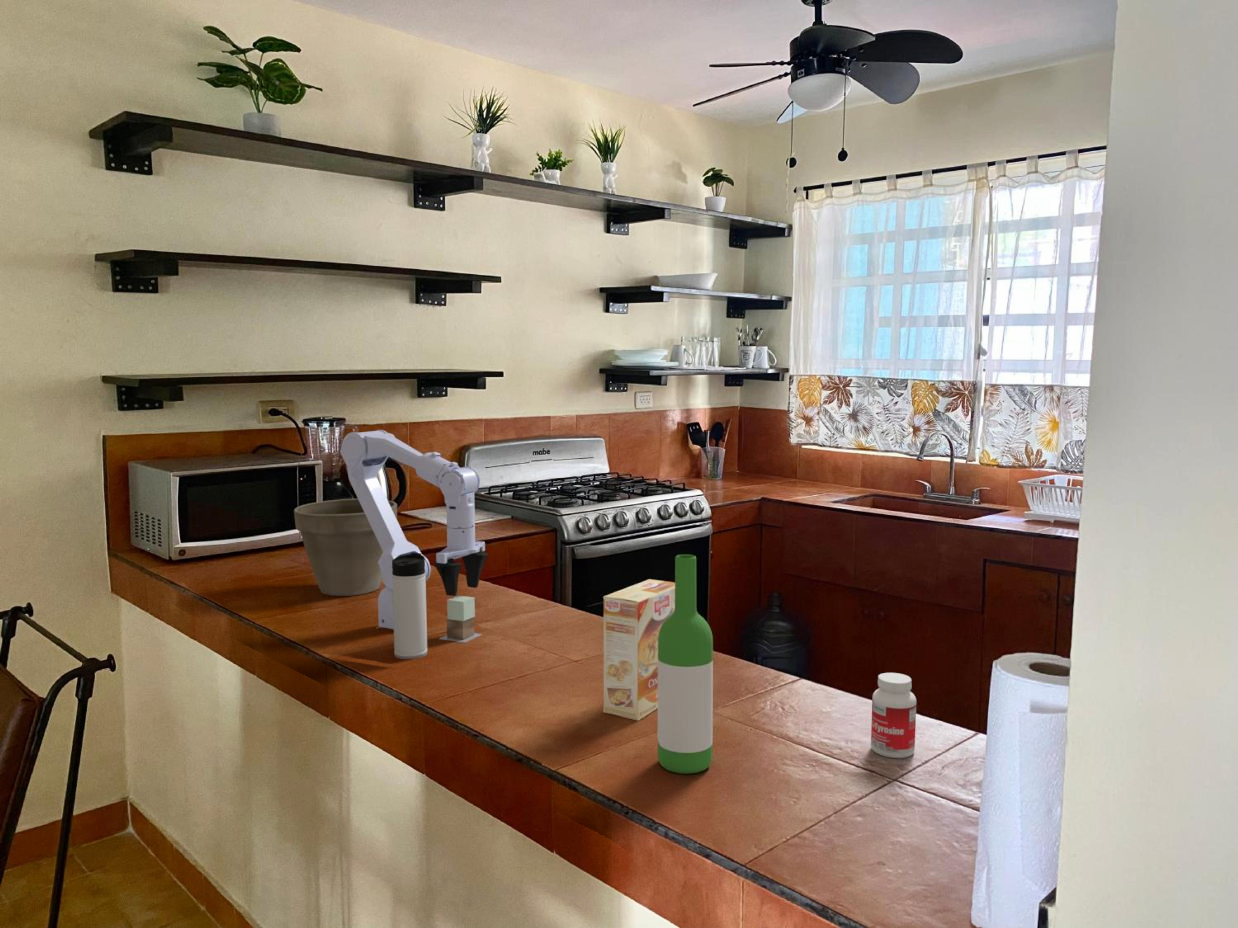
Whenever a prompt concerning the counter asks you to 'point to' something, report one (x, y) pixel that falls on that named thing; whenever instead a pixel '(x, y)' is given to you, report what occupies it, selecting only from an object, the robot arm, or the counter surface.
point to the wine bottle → (685, 679)
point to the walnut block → (460, 629)
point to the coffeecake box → (634, 646)
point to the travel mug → (409, 606)
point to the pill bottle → (893, 716)
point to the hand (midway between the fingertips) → (462, 591)
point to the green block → (461, 608)
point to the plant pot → (341, 546)
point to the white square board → (461, 640)
